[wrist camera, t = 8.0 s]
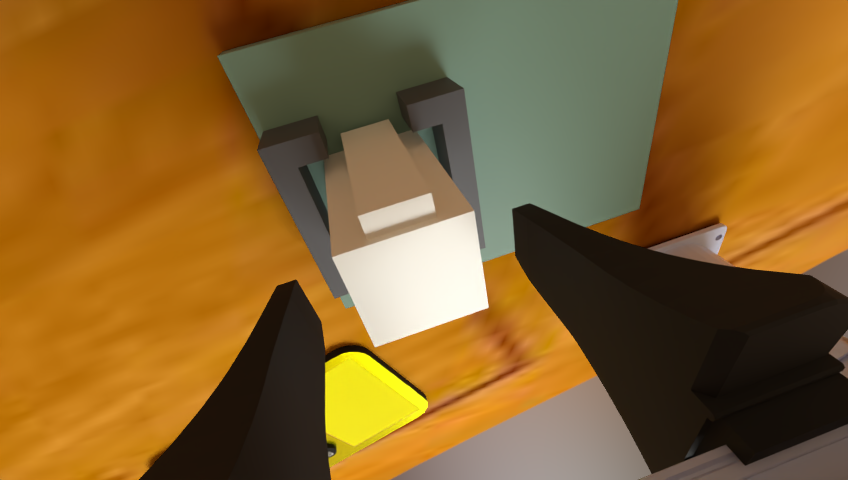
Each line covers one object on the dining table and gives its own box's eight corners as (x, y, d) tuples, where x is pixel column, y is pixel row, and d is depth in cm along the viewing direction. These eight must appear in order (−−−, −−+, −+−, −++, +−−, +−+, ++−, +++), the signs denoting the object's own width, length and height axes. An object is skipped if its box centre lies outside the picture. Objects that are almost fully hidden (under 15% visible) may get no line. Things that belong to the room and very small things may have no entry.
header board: (627, 200, 22) (665, 226, 20) (344, 296, 21) (349, 336, 19) (671, -73, 14) (742, -83, 12) (222, 51, 13) (203, 66, 11)
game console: (348, 329, 23) (350, 347, 22) (433, 393, 30) (438, 409, 29) (143, 461, 26) (135, 483, 25) (264, 493, 32) (263, 512, 31)
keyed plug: (432, 206, 18) (488, 307, 12) (354, 232, 18) (375, 347, 12) (410, 110, 15) (470, 185, 9) (316, 138, 15) (320, 233, 9)
